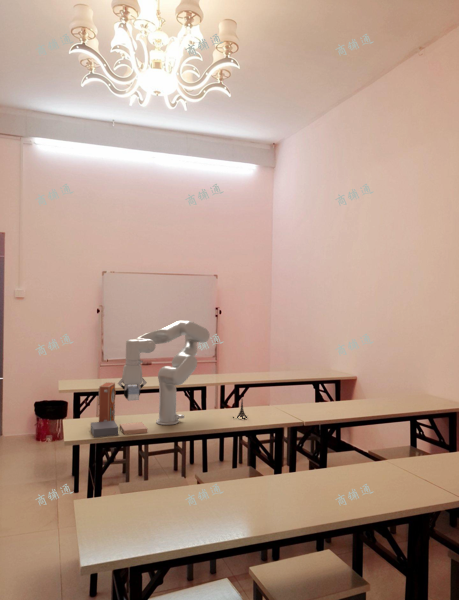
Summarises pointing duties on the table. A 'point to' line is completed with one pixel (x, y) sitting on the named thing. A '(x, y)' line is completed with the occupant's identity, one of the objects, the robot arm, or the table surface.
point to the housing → (132, 392)
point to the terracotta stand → (133, 428)
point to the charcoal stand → (104, 428)
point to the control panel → (107, 402)
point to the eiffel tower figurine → (242, 411)
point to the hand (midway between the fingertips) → (132, 396)
